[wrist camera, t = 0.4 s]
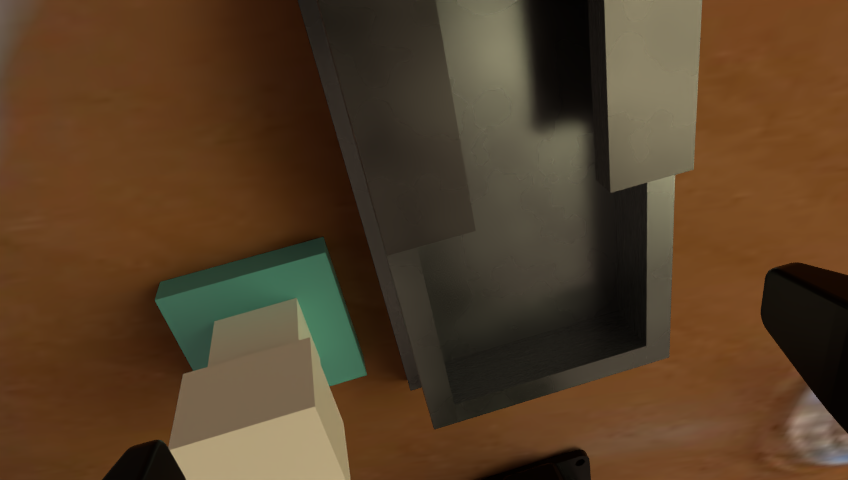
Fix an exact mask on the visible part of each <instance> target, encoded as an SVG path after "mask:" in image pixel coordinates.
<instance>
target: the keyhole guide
mask: <svg viewBox="0 0 848 480" xmlns="http://www.w3.org/2000/svg"><path fill="white" fill-rule="evenodd" d="M298 3H299V6H300V10H301V13H302V17H303V20H304V24H305V27H306V31H307V34H308V37H309V41H310V44H311V48H312V51H313V55H314V58H315V62H316V65H317V69H318V72H319V76H320V79H321V82H322V86H323V89H324V93H325V96H326V100H327V103H328V107H329V110H330V114H331V117H332V120H333V124H334V127H335V131H336V134H337V138H338V141H339V145H340V148H341V152H342V155H343V158H344V162H345V165H346V169H347V172H348V176H349V179H350V183H351V186H352V190H353V193H354V197H355V200H356V203H357V207H358V210H359V214H360V217H361V221H362V224H363V228H364V231H365V235H366V238H367V241H368V245H369V248H370V252H371V255H372V259H373V262H374V266H375V269H376V273H377V276H378V279H379V283H380V286H381V290H382V293H383V297H384V300H385V304H386V307H387V311H388V314H389V318H390V321H391V324H392V328H393V331H394V335H395V338H396V342H397V345H398V349H399V352H400V356H401V359H402V362H403V366H404V369H405V373H406V376H407V380H408V383H409V387H410V390H414V389H418V388H421V387H422V389H423V393H424V396H425V400H426V403H427V407H428V410H429V413H430V417H431V420H432V424H433V427H434V429H438V428H441V427H444V426H447V425H451V424H454V423H457V422H460V421H464V420H467V419H470V418H473V417H477V416H480V415H483V414H486V413H490V412H493V411H496V410H499V409H502V408H506V407H509V406H512V405H515V404H519V403H522V402H525V401H528V400H532V399H535V398H538V397H541V396H545V395H548V394H551V393H554V392H558V391H561V390H564V389H567V388H571V387H574V386H577V385H580V384H584V383H587V382H590V381H593V380H597V379H600V378H603V377H606V376H610V375H613V374H616V373H619V372H623V371H626V370H629V369H632V368H636V367H639V366H642V365H645V364H649V363H652V362H655V361H658V360H662V359H665V358H668V357H669V348H670V317H671V286H672V255H673V224H674V193H675V175H676V174H679V173H683V172H687V171H690V170H694V151H695V131H696V111H697V91H698V71H699V51H700V31H701V11H702V0H298Z"/></svg>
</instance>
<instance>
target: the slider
mask: <svg viewBox="0 0 848 480" xmlns="http://www.w3.org/2000/svg"><path fill="white" fill-rule="evenodd" d="M155 302H156V304H157V306H158V307H159V309H160V311H161V313H162V315H163V317H164V318H165V320H166V322H167V324H168V326H169V328H170V329H171V331H172V333H173V335H174V337H175V339H176V340H177V342H178V344H179V346H180V348H181V349H182V351H183V353H184V355H185V357H186V359H187V360H188V362H189V364H190V366H191V368H192V370H193V371H192V372H189V373H185V374H183V377H182V382H181V387H180V392H179V397H178V402H177V407H176V412H175V417H174V422H173V427H172V432H171V437H170V442H169V447H168V448H169V450H170V452H171V453H172V455H173V457H174V459H175V460H176V462H177V464H178V466H179V467H180V469H181V471H182V472H183V474H184V476H185V478H186V480H351V479H350V471H349V463H348V455H347V447H346V439H345V431H344V423H343V421H342V418H341V416H340V413H339V410H338V408H337V405H336V403H335V400H334V398H333V395H332V392H331V390H330V387H329V386H332V385H335V384H339V383H342V382H345V381H349V380H352V379H356V378H359V377H362V376H366V375H367V373H366V367H365V362H364V357H363V354H362V351H361V348H360V345H359V342H358V339H357V336H356V333H355V330H354V327H353V324H352V321H351V318H350V315H349V312H348V309H347V306H346V303H345V300H344V297H343V294H342V291H341V288H340V285H339V282H338V279H337V276H336V273H335V270H334V267H333V264H332V261H331V258H330V255H329V252H328V249H327V246H326V243H325V240H324V237H321V238H317V239H314V240H310V241H307V242H303V243H299V244H296V245H292V246H289V247H285V248H281V249H278V250H274V251H271V252H267V253H263V254H260V255H256V256H252V257H249V258H245V259H242V260H238V261H234V262H231V263H227V264H224V265H220V266H216V267H213V268H209V269H206V270H202V271H198V272H195V273H191V274H187V275H184V276H180V277H177V278H173V279H169V280H166V281H162V282H160V284H159V288H158V291H157V294H156V297H155Z"/></svg>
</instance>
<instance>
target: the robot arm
mask: <svg viewBox="0 0 848 480" xmlns="http://www.w3.org/2000/svg"><path fill="white" fill-rule="evenodd" d="M761 318H762V321H763V324H764V326H765V328H766V329H767V331H768V332H769V333H770V335H771V336H772V338H773V339H774V340H775V342H776V343H777V344H778V346H779V347H780V348H781V350H782V351H783V352H784V354H785V355H786V356H787V358H788V359H789V360H790V362H791V363H792V364H793V366H794V367H795V368H796V370H797V371H798V372H799V374H800V375H801V376H802V378H803V379H804V380H805V382H806V383H807V384H808V386H809V387H810V389H811V390H812V391H813V393H814V394H815V395H816V397H817V398H818V399H819V400H820V402H821V403H822V404H823V405H824V407H825V408H826V409H827V410H828V412H829V413H830V414H831V415H832V416H833V417H834V419H835V420H836V421H837V422H838V423H839V424H840V426H841V427H842V428H843V429H844V430H845V431H846V432H847V433H848V275H845V274H841V273H838V272H834V271H830V270H826V269H822V268H818V267H814V266H811V265H807V264H803V263H796V262H795V263H789V264H786V265H782V266H779V267H775V268H772V269H771V270H769V271H768V273H767V274H766V277H765V283H764V291H763V298H762V305H761ZM102 480H186V478H185V476H184V474H183V472H182V471H181V469H180V467H179V466H178V464H177V462H176V460H175V459H174V457H173V455H172V453H171V452H170V450H169V448H168V446H167V445H166V444H165V443H164V442H163V441H161V440H153V441H149V442H146V443H142V444H138V445H135V446H133V447H130V448H129V449H128V450H127V451H126V452H125V453H124V454H123V455H122V456H121V458H120V459H119V460H118V461H117V462H116V464H115V465H114V466H113V467H112V468H111V470H110V471H109V472H108V473H107V474H106V476H105V477H104V478H103V479H102ZM484 480H591V476H590V462H589V458H588V456H587V454H586V452H585V451H584V450H575V451H572V452H569V453H566V454H563V455H559V456H556V457H553V458H550V459H547V460H544V461H540V462H537V463H534V464H531V465H528V466H525V467H522V468H518V469H515V470H512V471H509V472H506V473H503V474H499V475H496V476H493V477H490V478H487V479H484Z"/></svg>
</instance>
